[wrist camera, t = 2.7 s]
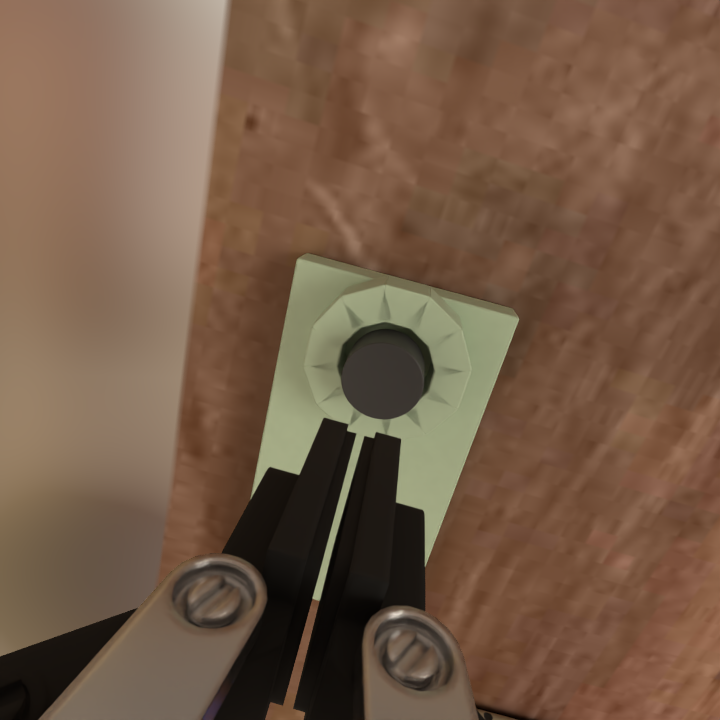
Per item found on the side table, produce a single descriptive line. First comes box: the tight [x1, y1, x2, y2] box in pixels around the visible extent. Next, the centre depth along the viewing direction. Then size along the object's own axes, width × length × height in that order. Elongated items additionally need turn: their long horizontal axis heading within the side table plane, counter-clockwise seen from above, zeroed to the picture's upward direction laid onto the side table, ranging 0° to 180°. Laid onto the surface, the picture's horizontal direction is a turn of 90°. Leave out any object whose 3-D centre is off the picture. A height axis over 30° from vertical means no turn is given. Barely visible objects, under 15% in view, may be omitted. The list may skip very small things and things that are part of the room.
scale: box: [250, 253, 519, 601], centre depth 20 cm, size 15×8×3 cm, turn 166°
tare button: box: [341, 329, 425, 419], centre depth 16 cm, size 3×3×2 cm
